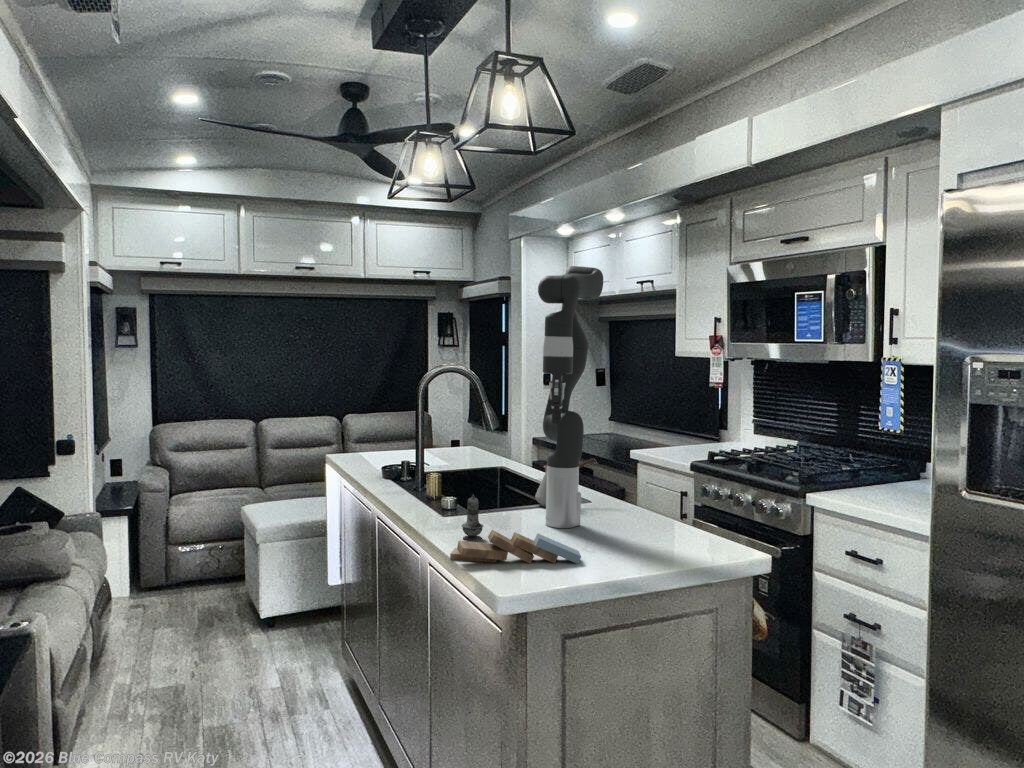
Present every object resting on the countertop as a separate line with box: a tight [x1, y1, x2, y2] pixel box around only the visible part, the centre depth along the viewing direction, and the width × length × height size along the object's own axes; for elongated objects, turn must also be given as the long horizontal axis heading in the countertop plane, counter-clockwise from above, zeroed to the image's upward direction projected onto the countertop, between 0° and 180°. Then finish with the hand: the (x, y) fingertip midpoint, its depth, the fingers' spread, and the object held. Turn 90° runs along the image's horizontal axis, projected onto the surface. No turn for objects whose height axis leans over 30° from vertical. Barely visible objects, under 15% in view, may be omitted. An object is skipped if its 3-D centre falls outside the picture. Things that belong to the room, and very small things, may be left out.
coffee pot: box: [534, 457, 598, 508], centre depth 244 cm, size 21×12×15 cm, turn 112°
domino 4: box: [510, 531, 559, 564], centre depth 178 cm, size 2×5×11 cm
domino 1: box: [449, 547, 498, 563], centre depth 179 cm, size 2×5×11 cm
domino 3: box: [487, 529, 535, 564], centre depth 177 cm, size 2×5×11 cm
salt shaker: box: [461, 493, 485, 542], centre depth 197 cm, size 6×6×12 cm
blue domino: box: [533, 533, 582, 565], centre depth 178 cm, size 2×5×11 cm
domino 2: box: [456, 540, 509, 561], centre depth 175 cm, size 2×5×11 cm
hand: (556, 423), depth 188 cm, fingers closed
